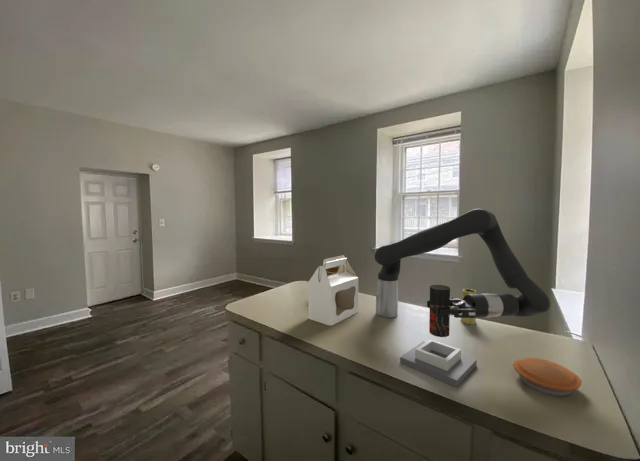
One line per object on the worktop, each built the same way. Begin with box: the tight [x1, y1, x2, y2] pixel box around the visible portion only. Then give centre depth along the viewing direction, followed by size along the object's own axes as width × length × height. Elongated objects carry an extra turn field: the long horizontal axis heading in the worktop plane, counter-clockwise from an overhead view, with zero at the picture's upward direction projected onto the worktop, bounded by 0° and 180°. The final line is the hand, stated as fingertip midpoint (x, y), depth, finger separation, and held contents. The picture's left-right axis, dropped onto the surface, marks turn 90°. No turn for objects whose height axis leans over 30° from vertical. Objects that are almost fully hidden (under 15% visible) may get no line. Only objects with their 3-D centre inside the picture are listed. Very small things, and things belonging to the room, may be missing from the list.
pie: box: [512, 357, 583, 397], centre depth 83 cm, size 15×16×5 cm
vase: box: [460, 288, 477, 325], centre depth 128 cm, size 6×6×14 cm
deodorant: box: [428, 284, 451, 338], centre depth 92 cm, size 6×6×15 cm
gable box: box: [307, 254, 359, 327], centre depth 136 cm, size 22×13×28 cm, turn 140°
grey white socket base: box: [399, 338, 478, 388], centre depth 93 cm, size 18×16×5 cm
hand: (432, 307), depth 92 cm, fingers closed on deodorant, 6 cm apart
